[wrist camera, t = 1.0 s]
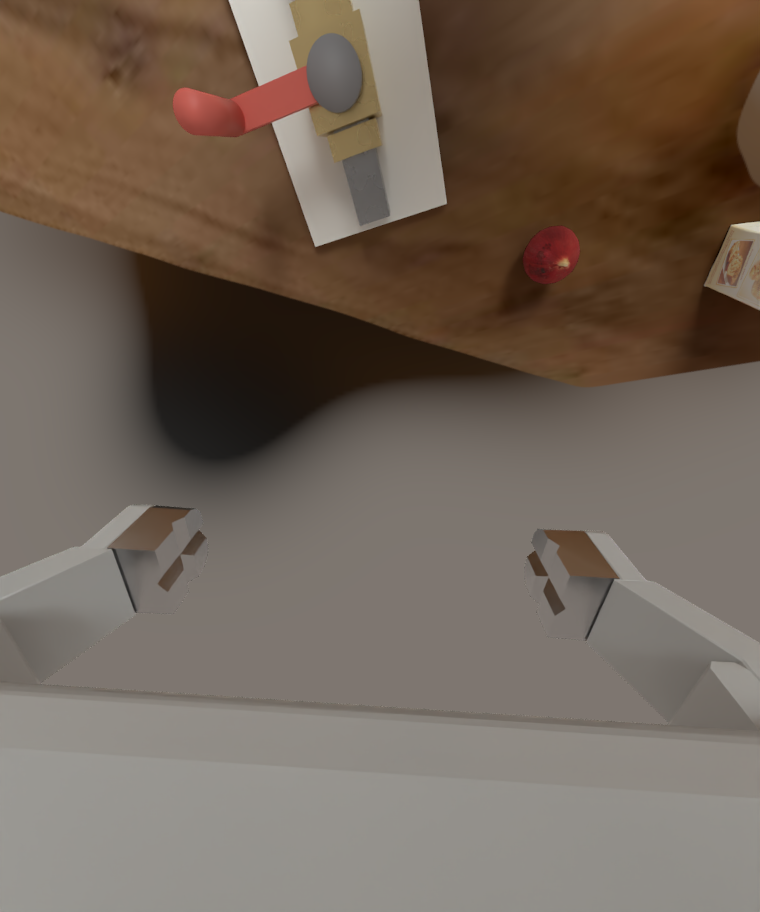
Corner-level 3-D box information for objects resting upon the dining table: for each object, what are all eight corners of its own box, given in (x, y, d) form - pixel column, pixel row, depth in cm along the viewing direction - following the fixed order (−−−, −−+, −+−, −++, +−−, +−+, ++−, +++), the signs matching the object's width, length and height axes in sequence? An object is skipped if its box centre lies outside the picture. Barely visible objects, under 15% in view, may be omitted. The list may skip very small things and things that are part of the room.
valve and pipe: (266, -80, 30) (237, -131, 25) (335, -117, 29) (320, -179, 23) (352, 223, 44) (346, 234, 38) (401, 206, 42) (402, 215, 37)
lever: (352, 27, 29) (338, -12, 22) (368, 101, 31) (360, 89, 24) (210, 91, 31) (155, 75, 24) (236, 155, 34) (194, 157, 27)
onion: (522, 282, 47) (540, 303, 41) (511, 236, 44) (529, 251, 38) (569, 260, 45) (596, 278, 39) (561, 211, 42) (590, 221, 36)
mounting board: (207, -71, 30) (201, -77, 30) (393, -174, 27) (393, -185, 26) (316, 245, 45) (315, 246, 44) (445, 202, 42) (446, 203, 41)
